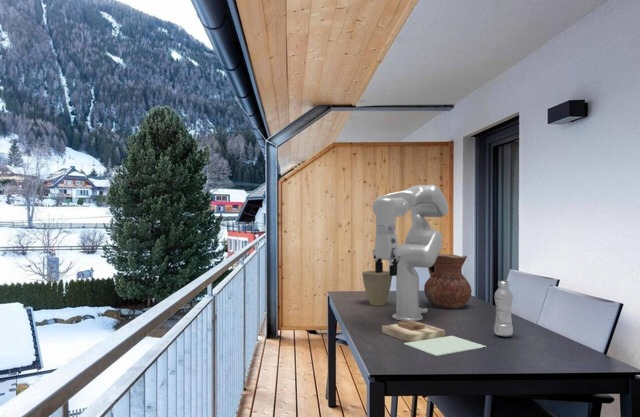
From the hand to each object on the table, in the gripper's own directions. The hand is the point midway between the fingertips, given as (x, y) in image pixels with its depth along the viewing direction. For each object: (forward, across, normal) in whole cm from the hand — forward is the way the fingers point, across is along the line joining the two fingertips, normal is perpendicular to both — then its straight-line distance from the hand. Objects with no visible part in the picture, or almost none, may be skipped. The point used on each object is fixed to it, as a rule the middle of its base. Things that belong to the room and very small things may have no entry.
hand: (386, 274), depth 187 cm
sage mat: (+21, -29, -4) cm, 36 cm away
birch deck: (+21, -13, -3) cm, 25 cm away
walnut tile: (+18, -12, -3) cm, 21 cm away
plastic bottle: (+22, -29, -32) cm, 48 cm away
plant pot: (+22, +43, -24) cm, 54 cm away
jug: (+23, +25, -53) cm, 63 cm away
